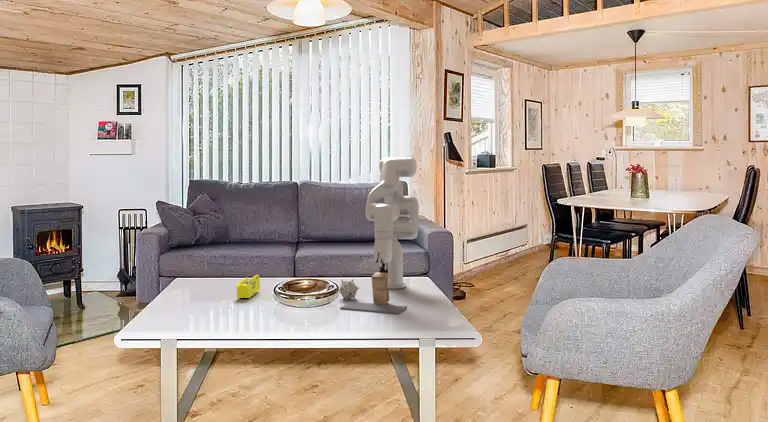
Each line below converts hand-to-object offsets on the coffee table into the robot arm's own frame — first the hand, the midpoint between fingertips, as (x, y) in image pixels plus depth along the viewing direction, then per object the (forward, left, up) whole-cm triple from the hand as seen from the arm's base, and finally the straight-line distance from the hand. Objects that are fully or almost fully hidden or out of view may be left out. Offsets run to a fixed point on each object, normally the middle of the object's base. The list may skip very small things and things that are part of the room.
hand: (383, 279), depth 240 cm
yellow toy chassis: (+8, -59, -10) cm, 61 cm away
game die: (0, -16, -10) cm, 19 cm away
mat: (+11, 0, -9) cm, 15 cm away
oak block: (+3, 0, -9) cm, 9 cm away
